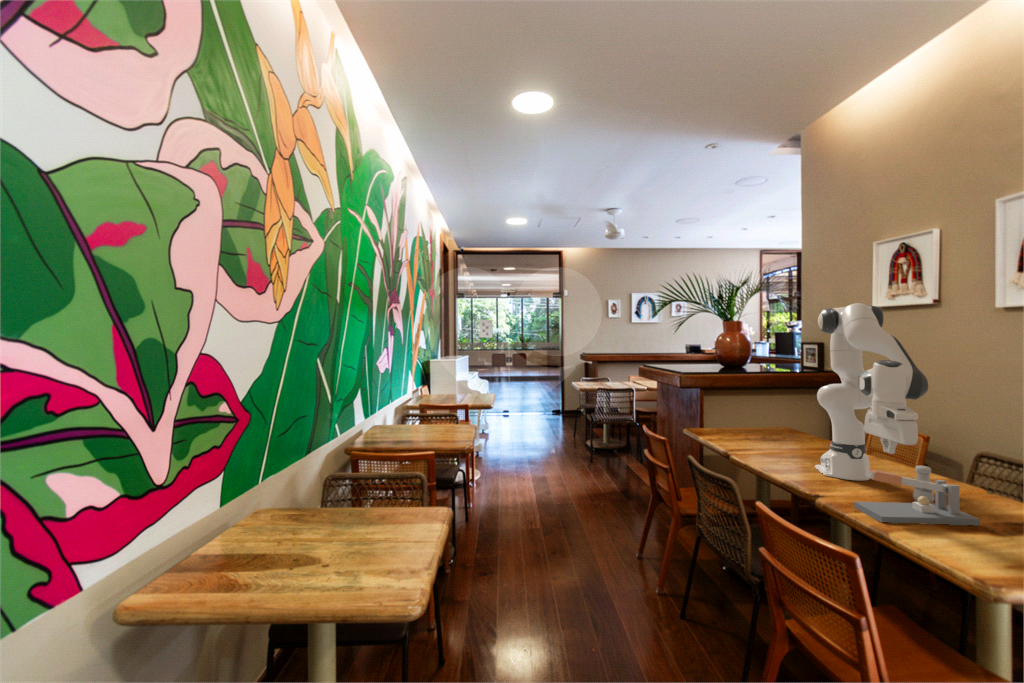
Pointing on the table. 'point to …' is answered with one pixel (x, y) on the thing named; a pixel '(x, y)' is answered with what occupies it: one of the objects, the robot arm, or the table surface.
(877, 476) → the lever
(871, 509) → the base
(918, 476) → the salt shaker
